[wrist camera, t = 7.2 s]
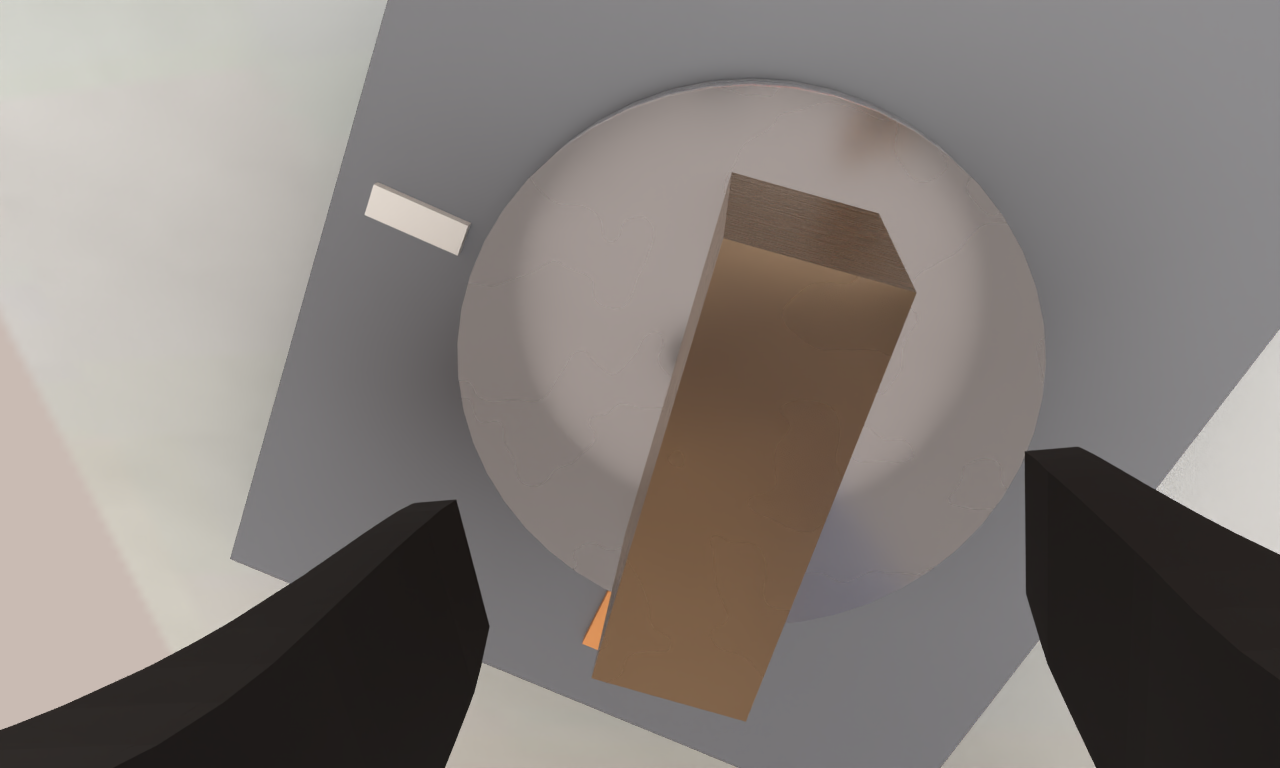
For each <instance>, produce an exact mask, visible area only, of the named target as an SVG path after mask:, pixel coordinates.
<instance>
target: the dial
mask: <svg viewBox="0 0 1280 768" xmlns="http://www.w3.org/2000/svg"><path fill="white" fill-rule="evenodd" d="M457 348H458V379H459V386H460V392H461V398H462V404H463V410H464V414H465V417H466V420H467V424H468V427H469V430H470V434H471V437H472V440H473V443H474V445H475V448H476V450H477V452H478V454H479V457H480V459H481V461H482V463H483V465H484V468H485V470H486V472H487V474H488V476H489V477H490V479H491V480H492V482H493V484H494V485H495V487H496V489H497V490H498V492H499V493H500V495H501V497H502V498H503V500H504V502H505V503H506V504H507V505H508V507H509V508H510V509H511V510H512V512H513V513H514V514H515V515H516V517H517V518H518V519H519V520H520V522H521V523H522V524H523V525H524V527H525V528H526V529H527V530H528V531H529V532H530V533H531V534H532V535H533V536H534V537H535V538H537V539H538V540H539V541H540V542H541V543H542V544H543V545H544V546H545V547H546V548H547V549H548V550H549V551H550V552H551V553H553V554H554V555H555V556H556V557H558V558H559V559H560V560H562V561H563V562H564V563H565V564H567V565H568V566H569V567H571V568H572V569H573V570H574V571H576V572H577V573H579V574H581V575H582V576H584V577H586V578H587V579H589V580H591V581H592V582H594V583H596V584H597V585H599V586H600V587H602V588H604V589H606V590H608V591H610V592H611V596H610V600H609V605H608V609H607V613H606V617H605V622H604V626H603V630H602V634H601V639H600V643H599V647H598V652H597V656H596V660H595V664H594V669H593V673H592V677H591V678H592V679H596V680H599V681H603V682H606V683H610V684H614V685H617V686H621V687H624V688H628V689H631V690H635V691H638V692H642V693H646V694H649V695H653V696H656V697H660V698H663V699H667V700H670V701H674V702H678V703H681V704H685V705H688V706H692V707H695V708H699V709H702V710H706V711H710V712H713V713H717V714H720V715H724V716H727V717H731V718H734V719H738V720H742V721H745V722H746V720H747V718H748V715H749V713H750V710H751V708H752V705H753V703H754V700H755V698H756V695H757V693H758V690H759V687H760V685H761V682H762V680H763V677H764V675H765V672H766V670H767V667H768V665H769V662H770V660H771V657H772V655H773V652H774V650H775V647H776V645H777V642H778V640H779V637H780V635H781V632H782V630H783V627H784V625H785V623H794V622H802V621H807V620H812V619H817V618H821V617H826V616H831V615H835V614H839V613H842V612H845V611H848V610H851V609H854V608H857V607H860V606H863V605H866V604H869V603H871V602H873V601H875V600H877V599H880V598H882V597H884V596H886V595H888V594H890V593H893V592H895V591H897V590H899V589H901V588H903V587H904V586H906V585H908V584H909V583H911V582H912V581H914V580H916V579H917V578H919V577H921V576H922V575H924V574H926V573H927V572H929V571H930V570H932V569H933V568H934V567H935V566H937V565H938V564H939V563H940V562H942V561H943V560H944V559H946V558H947V557H948V556H949V555H951V554H952V553H953V552H954V551H956V550H957V549H958V548H959V547H960V546H961V545H962V544H963V543H964V542H965V541H966V540H967V539H968V538H969V537H970V536H971V535H972V534H973V533H974V532H975V531H976V530H977V529H978V528H979V527H980V526H981V525H982V523H983V522H984V521H985V520H986V518H987V517H988V516H989V514H990V513H991V512H992V510H993V509H994V508H995V507H996V505H997V504H998V503H999V501H1000V500H1001V499H1002V497H1003V496H1004V494H1005V492H1006V491H1007V489H1008V487H1009V485H1010V484H1011V482H1012V480H1013V478H1014V477H1015V475H1016V473H1017V471H1018V470H1019V468H1020V466H1021V464H1022V461H1023V459H1024V456H1025V451H1027V449H1028V446H1029V444H1030V441H1031V439H1032V436H1033V434H1034V430H1035V426H1036V422H1037V418H1038V414H1039V410H1040V406H1041V402H1042V397H1043V387H1044V376H1045V366H1046V354H1045V335H1044V323H1043V318H1042V313H1041V308H1040V303H1039V298H1038V294H1037V289H1036V286H1035V283H1034V280H1033V277H1032V275H1031V272H1030V269H1029V267H1028V264H1027V261H1026V259H1025V256H1024V253H1023V251H1022V249H1021V247H1020V245H1019V244H1018V242H1017V240H1016V238H1015V236H1014V235H1013V233H1012V231H1011V229H1010V227H1009V226H1008V224H1007V222H1006V220H1005V218H1004V217H1003V215H1002V214H1001V213H1000V211H999V210H998V209H997V208H996V206H995V205H994V204H993V202H992V201H991V200H990V198H989V197H988V196H987V194H986V193H985V192H984V191H983V189H982V188H981V187H980V185H979V184H978V183H977V182H976V181H975V180H974V179H973V178H972V177H971V176H970V175H969V174H968V173H967V172H966V171H965V170H964V169H963V168H962V167H961V166H960V165H959V164H958V163H957V162H955V161H954V160H953V159H952V158H951V157H950V156H949V155H948V154H947V153H946V152H945V151H944V150H943V149H942V148H941V147H940V146H939V145H938V144H936V143H935V142H934V141H932V140H931V139H929V138H928V137H927V136H925V135H924V134H923V133H921V132H920V131H918V130H917V129H916V128H914V127H913V126H911V125H910V124H909V123H907V122H906V121H904V120H902V119H900V118H898V117H896V116H894V115H892V114H890V113H889V112H887V111H885V110H883V109H881V108H879V107H877V106H875V105H873V104H871V103H869V102H866V101H863V100H861V99H858V98H855V97H852V96H849V95H847V94H844V93H841V92H838V91H835V90H833V89H828V88H823V87H818V86H814V85H809V84H804V83H799V82H794V81H784V80H769V79H755V78H748V79H733V80H718V81H708V82H703V83H699V84H694V85H689V86H684V87H679V88H674V89H670V90H667V91H664V92H662V93H659V94H656V95H653V96H650V97H647V98H645V99H642V100H639V101H636V102H633V103H631V104H629V105H628V106H626V107H624V108H622V109H620V110H618V111H616V112H614V113H612V114H610V115H608V116H606V117H604V118H602V119H600V120H598V121H597V122H596V123H594V124H593V125H591V126H590V127H589V128H587V129H586V130H584V131H583V132H581V133H580V134H579V135H577V136H576V137H574V138H573V139H571V140H570V141H569V142H567V143H566V144H565V145H564V146H563V147H562V148H561V149H560V150H559V151H558V152H557V153H555V154H554V155H553V156H552V157H551V158H550V159H549V160H548V161H547V162H546V163H545V164H544V165H543V166H541V167H540V168H539V169H538V170H537V171H536V172H535V173H534V174H533V175H532V176H531V177H530V178H529V179H528V180H527V181H526V182H525V183H524V185H523V186H522V187H521V188H520V189H519V191H518V192H517V193H516V194H515V196H514V197H513V198H512V199H511V201H510V202H509V203H508V204H507V206H506V207H505V208H504V209H503V211H502V213H501V214H500V216H499V218H498V219H497V221H496V223H495V224H494V226H493V228H492V229H491V231H490V233H489V234H488V236H487V238H486V239H485V241H484V243H483V246H482V248H481V250H480V253H479V255H478V258H477V260H476V262H475V265H474V267H473V270H472V272H471V274H470V278H469V282H468V286H467V289H466V293H465V297H464V301H463V305H462V308H461V317H460V325H459V334H458V343H457Z"/></svg>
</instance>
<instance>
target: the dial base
mask: <svg viewBox="0 0 1280 768" xmlns="http://www.w3.org/2000/svg"><path fill="white" fill-rule="evenodd" d="M748 78H755V79H769V80H784V81H794V82H799V83H804V84H809V85H814V86H818V87H823V88H828V89H833V90H835V91H838V92H841V93H844V94H847V95H849V96H852V97H855V98H858V99H861V100H863V101H866V102H869V103H871V104H873V105H875V106H877V107H879V108H881V109H883V110H885V111H887V112H889V113H890V114H892V115H894V116H896V117H898V118H900V119H902V120H904V121H906V122H907V123H909V124H910V125H911V126H913V127H914V128H916V129H917V130H918V131H920V132H921V133H923V134H924V135H925V136H927V137H928V138H929V139H931V140H932V141H934V142H935V143H936V144H938V145H939V146H940V147H941V148H942V149H943V150H944V151H945V152H946V153H947V154H948V155H949V156H950V157H951V158H952V159H953V160H954V161H955V162H957V163H958V164H959V165H960V166H961V167H962V168H963V169H964V170H965V171H966V172H967V173H968V174H969V175H970V176H971V177H972V178H973V179H974V180H975V181H976V182H977V183H978V184H979V185H980V187H981V188H982V189H983V191H984V192H985V193H986V194H987V196H988V197H989V198H990V200H991V201H992V202H993V204H994V205H995V206H996V208H997V209H998V210H999V211H1000V213H1001V214H1002V215H1003V217H1004V218H1005V220H1006V222H1007V224H1008V226H1009V227H1010V229H1011V231H1012V233H1013V235H1014V236H1015V238H1016V240H1017V242H1018V244H1019V245H1020V247H1021V249H1022V251H1023V253H1024V256H1025V259H1026V261H1027V264H1028V267H1029V269H1030V272H1031V275H1032V277H1033V280H1034V283H1035V286H1036V289H1037V294H1038V298H1039V303H1040V308H1041V313H1042V318H1043V323H1044V335H1045V354H1046V366H1045V376H1044V387H1043V397H1042V402H1041V406H1040V410H1039V414H1038V418H1037V422H1036V426H1035V430H1034V434H1033V436H1032V439H1031V441H1030V444H1029V446H1028V449H1027V451H1032V450H1043V449H1055V448H1067V447H1080V448H1083V449H1085V450H1087V451H1089V452H1091V453H1093V454H1094V455H1096V456H1098V457H1100V458H1102V459H1103V460H1105V461H1107V462H1109V463H1110V464H1112V465H1114V466H1116V467H1117V468H1119V469H1121V470H1123V471H1124V472H1126V473H1128V474H1129V475H1131V476H1133V477H1134V478H1136V479H1138V480H1140V481H1141V482H1143V483H1145V484H1146V485H1148V486H1150V487H1152V488H1153V489H1155V490H1156V488H1157V487H1158V486H1159V484H1160V483H1161V482H1162V480H1163V479H1164V478H1165V477H1166V475H1167V474H1168V473H1169V471H1170V470H1171V469H1172V468H1173V466H1174V465H1175V464H1176V462H1177V461H1178V460H1179V458H1180V457H1181V456H1182V455H1183V453H1184V452H1185V451H1186V449H1187V448H1188V447H1189V446H1190V444H1191V443H1192V442H1193V440H1194V439H1195V438H1196V436H1197V435H1198V434H1199V433H1200V431H1201V430H1202V429H1203V427H1204V426H1205V425H1206V424H1207V422H1208V421H1209V420H1210V418H1211V417H1212V416H1213V415H1214V413H1215V412H1216V411H1217V409H1218V408H1219V407H1220V405H1221V404H1222V403H1223V402H1224V400H1225V399H1226V398H1227V396H1228V395H1229V394H1230V393H1231V391H1232V390H1233V389H1234V387H1235V386H1236V385H1237V383H1238V382H1239V381H1240V380H1241V378H1242V377H1243V376H1244V374H1245V373H1246V372H1247V371H1248V369H1249V368H1250V367H1251V365H1252V364H1253V363H1254V361H1255V360H1256V359H1257V358H1258V356H1259V355H1260V354H1261V352H1262V351H1263V350H1264V349H1265V347H1266V346H1267V345H1268V343H1269V342H1270V341H1271V340H1272V338H1273V337H1274V336H1275V334H1276V333H1277V332H1278V330H1279V329H1280V0H388V1H387V5H386V9H385V12H384V16H383V19H382V23H381V26H380V30H379V33H378V37H377V40H376V44H375V48H374V51H373V55H372V58H371V62H370V65H369V69H368V72H367V76H366V79H365V83H364V86H363V90H362V94H361V97H360V101H359V104H358V108H357V111H356V115H355V118H354V122H353V125H352V129H351V133H350V136H349V140H348V143H347V147H346V150H345V154H344V157H343V161H342V164H341V168H340V171H339V175H338V179H337V182H336V186H335V189H334V193H333V196H332V200H331V203H330V207H329V210H328V214H327V217H326V221H325V225H324V228H323V232H322V235H321V239H320V242H319V246H318V249H317V253H316V256H315V260H314V264H313V267H312V271H311V274H310V278H309V281H308V285H307V288H306V292H305V295H304V299H303V302H302V306H301V310H300V313H299V317H298V320H297V324H296V327H295V331H294V334H293V338H292V341H291V345H290V349H289V352H288V356H287V359H286V363H285V366H284V370H283V373H282V377H281V380H280V384H279V387H278V391H277V395H276V398H275V402H274V405H273V409H272V412H271V416H270V419H269V423H268V426H267V430H266V434H265V437H264V441H263V444H262V448H261V451H260V455H259V458H258V462H257V465H256V469H255V472H254V476H253V480H252V483H251V487H250V490H249V494H248V497H247V501H246V504H245V508H244V511H243V515H242V519H241V522H240V526H239V529H238V533H237V536H236V540H235V543H234V547H233V550H232V554H231V557H230V559H232V560H234V561H236V562H239V563H241V564H244V565H246V566H249V567H251V568H254V569H256V570H258V571H261V572H263V573H266V574H268V575H271V576H273V577H275V578H278V579H280V580H283V581H285V582H288V583H290V584H291V583H292V582H294V581H295V580H297V579H298V578H300V577H301V576H303V575H304V574H306V573H307V572H309V571H310V570H311V569H313V568H314V567H316V566H317V565H319V564H320V563H322V562H323V561H324V560H326V559H327V558H329V557H330V556H332V555H333V554H335V553H336V552H338V551H339V550H340V549H342V548H343V547H345V546H346V545H348V544H349V543H351V542H352V541H353V540H355V539H356V538H358V537H359V536H361V535H362V534H364V533H365V532H367V531H368V530H369V529H371V528H372V527H374V526H375V525H377V524H378V523H380V522H381V521H383V520H384V519H386V518H388V517H389V516H391V515H392V514H394V513H396V512H397V511H399V510H401V509H403V508H405V507H407V506H409V505H410V504H412V503H419V502H431V501H443V500H455V499H456V500H457V504H458V507H459V511H460V515H461V519H462V523H463V527H464V530H465V534H466V538H467V542H468V546H469V549H470V553H471V557H472V561H473V565H474V568H475V572H476V576H477V580H478V584H479V588H480V591H481V595H482V599H483V603H484V607H485V610H486V614H487V618H488V622H489V626H490V628H489V632H488V637H487V641H486V646H485V650H484V655H483V660H482V663H485V664H487V665H490V666H492V667H495V668H497V669H499V670H502V671H504V672H507V673H509V674H512V675H514V676H517V677H519V678H521V679H524V680H526V681H529V682H531V683H534V684H536V685H538V686H541V687H543V688H546V689H548V690H551V691H553V692H555V693H558V694H560V695H563V696H565V697H568V698H570V699H573V700H575V701H577V702H580V703H582V704H585V705H587V706H590V707H592V708H594V709H597V710H599V711H602V712H604V713H607V714H609V715H611V716H614V717H616V718H619V719H621V720H624V721H626V722H629V723H631V724H633V725H636V726H638V727H641V728H643V729H646V730H648V731H650V732H653V733H655V734H658V735H660V736H663V737H665V738H667V739H670V740H672V741H675V742H677V743H680V744H682V745H685V746H687V747H689V748H692V749H694V750H697V751H699V752H702V753H704V754H706V755H709V756H711V757H714V758H716V759H719V760H721V761H723V762H726V763H728V764H731V765H733V766H736V767H738V768H941V766H942V765H943V764H944V762H945V761H946V760H947V758H948V757H949V756H950V755H951V753H952V752H953V751H954V749H955V748H956V747H957V746H958V744H959V743H960V742H961V740H962V739H963V738H964V736H965V735H966V734H967V733H968V731H969V730H970V729H971V727H972V726H973V725H974V724H975V722H976V721H977V720H978V718H979V717H980V716H981V715H982V713H983V712H984V711H985V709H986V708H987V707H988V705H989V704H990V703H991V702H992V700H993V699H994V698H995V696H996V695H997V694H998V693H999V691H1000V690H1001V689H1002V687H1003V686H1004V685H1005V683H1006V682H1007V681H1008V680H1009V678H1010V677H1011V676H1012V674H1013V673H1014V672H1015V671H1016V669H1017V668H1018V667H1019V665H1020V664H1021V663H1022V661H1023V660H1024V659H1025V658H1026V656H1027V655H1028V654H1029V652H1030V651H1031V650H1032V649H1033V647H1034V646H1035V645H1036V643H1037V642H1038V641H1039V640H1040V639H1039V636H1038V633H1037V629H1036V626H1035V623H1034V619H1033V616H1032V612H1031V609H1030V606H1029V602H1028V599H1027V596H1026V556H1025V456H1024V459H1023V461H1022V464H1021V466H1020V468H1019V470H1018V471H1017V473H1016V475H1015V477H1014V478H1013V480H1012V482H1011V484H1010V485H1009V487H1008V489H1007V491H1006V492H1005V494H1004V496H1003V497H1002V499H1001V500H1000V501H999V503H998V504H997V505H996V507H995V508H994V509H993V510H992V512H991V513H990V514H989V516H988V517H987V518H986V520H985V521H984V522H983V523H982V525H981V526H980V527H979V528H978V529H977V530H976V531H975V532H974V533H973V534H972V535H971V536H970V537H969V538H968V539H967V540H966V541H965V542H964V543H963V544H962V545H961V546H960V547H959V548H958V549H957V550H956V551H954V552H953V553H952V554H951V555H949V556H948V557H947V558H946V559H944V560H943V561H942V562H940V563H939V564H938V565H937V566H935V567H934V568H933V569H932V570H930V571H929V572H927V573H926V574H924V575H922V576H921V577H919V578H917V579H916V580H914V581H912V582H911V583H909V584H908V585H906V586H904V587H903V588H901V589H899V590H897V591H895V592H893V593H890V594H888V595H886V596H884V597H882V598H880V599H877V600H875V601H873V602H871V603H869V604H866V605H863V606H860V607H857V608H854V609H851V610H848V611H845V612H842V613H839V614H835V615H831V616H826V617H821V618H817V619H812V620H807V621H802V622H794V623H785V625H784V627H783V630H782V632H781V635H780V637H779V640H778V642H777V645H776V647H775V650H774V652H773V655H772V657H771V660H770V662H769V665H768V667H767V670H766V672H765V675H764V677H763V680H762V682H761V685H760V687H759V690H758V693H757V695H756V698H755V700H754V703H753V705H752V708H751V710H750V713H749V715H748V718H747V720H746V722H745V721H742V720H738V719H734V718H731V717H727V716H724V715H720V714H717V713H713V712H710V711H706V710H702V709H699V708H695V707H692V706H688V705H685V704H681V703H678V702H674V701H670V700H667V699H663V698H660V697H656V696H653V695H649V694H646V693H642V692H638V691H635V690H631V689H628V688H624V687H621V686H617V685H614V684H610V683H606V682H603V681H599V680H596V679H592V678H591V677H592V673H593V669H594V664H595V660H596V656H597V652H598V647H599V643H600V639H601V634H602V630H603V626H604V622H605V617H606V613H607V609H608V605H609V600H610V596H611V592H610V591H608V590H606V589H604V588H602V587H600V586H599V585H597V584H596V583H594V582H592V581H591V580H589V579H587V578H586V577H584V576H582V575H581V574H579V573H577V572H576V571H574V570H573V569H572V568H571V567H569V566H568V565H567V564H565V563H564V562H563V561H562V560H560V559H559V558H558V557H556V556H555V555H554V554H553V553H551V552H550V551H549V550H548V549H547V548H546V547H545V546H544V545H543V544H542V543H541V542H540V541H539V540H538V539H537V538H535V537H534V536H533V535H532V534H531V533H530V532H529V531H528V530H527V529H526V528H525V527H524V525H523V524H522V523H521V522H520V520H519V519H518V518H517V517H516V515H515V514H514V513H513V512H512V510H511V509H510V508H509V507H508V505H507V504H506V503H505V502H504V500H503V498H502V497H501V495H500V493H499V492H498V490H497V489H496V487H495V485H494V484H493V482H492V480H491V479H490V477H489V476H488V474H487V472H486V470H485V468H484V465H483V463H482V461H481V459H480V457H479V454H478V452H477V450H476V448H475V445H474V443H473V440H472V437H471V434H470V430H469V427H468V424H467V420H466V417H465V414H464V410H463V404H462V398H461V392H460V386H459V379H458V348H457V343H458V334H459V325H460V317H461V308H462V305H463V301H464V297H465V293H466V289H467V286H468V282H469V278H470V274H471V272H472V270H473V267H474V265H475V262H476V260H477V258H478V255H479V253H480V250H481V248H482V246H483V243H484V241H485V239H486V238H487V236H488V234H489V233H490V231H491V229H492V228H493V226H494V224H495V223H496V221H497V219H498V218H499V216H500V214H501V213H502V211H503V209H504V208H505V207H506V206H507V204H508V203H509V202H510V201H511V199H512V198H513V197H514V196H515V194H516V193H517V192H518V191H519V189H520V188H521V187H522V186H523V185H524V183H525V182H526V181H527V180H528V179H529V178H530V177H531V176H532V175H533V174H534V173H535V172H536V171H537V170H538V169H539V168H540V167H541V166H543V165H544V164H545V163H546V162H547V161H548V160H549V159H550V158H551V157H552V156H553V155H554V154H555V153H557V152H558V151H559V150H560V149H561V148H562V147H563V146H564V145H565V144H566V143H567V142H569V141H570V140H571V139H573V138H574V137H576V136H577V135H579V134H580V133H581V132H583V131H584V130H586V129H587V128H589V127H590V126H591V125H593V124H594V123H596V122H597V121H598V120H600V119H602V118H604V117H606V116H608V115H610V114H612V113H614V112H616V111H618V110H620V109H622V108H624V107H626V106H628V105H629V104H631V103H633V102H636V101H639V100H642V99H645V98H647V97H650V96H653V95H656V94H659V93H662V92H664V91H667V90H670V89H674V88H679V87H684V86H689V85H694V84H699V83H703V82H708V81H718V80H733V79H748Z"/></svg>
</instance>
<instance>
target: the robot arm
mask: <svg viewBox="0 0 1280 768" xmlns="http://www.w3.org/2000/svg"><path fill="white" fill-rule="evenodd" d="M1025 556H1026V596H1027V599H1028V602H1029V606H1030V609H1031V612H1032V616H1033V619H1034V623H1035V626H1036V629H1037V633H1038V636H1039V639H1040V642H1041V645H1042V648H1043V651H1044V654H1045V657H1046V660H1047V664H1048V666H1049V668H1050V670H1051V672H1052V675H1053V677H1054V679H1055V681H1056V683H1057V686H1058V688H1059V690H1060V692H1061V694H1062V696H1063V699H1064V701H1065V703H1066V705H1067V707H1068V709H1069V711H1070V714H1071V716H1072V718H1073V720H1074V722H1075V724H1076V726H1077V728H1078V731H1079V733H1080V735H1081V737H1082V739H1083V741H1084V743H1085V745H1086V747H1087V750H1088V752H1089V754H1090V756H1091V758H1092V760H1093V762H1094V764H1095V766H1096V768H1280V555H1279V554H1277V553H1275V552H1273V551H1271V550H1269V549H1267V548H1265V547H1263V546H1261V545H1259V544H1257V543H1255V542H1253V541H1250V540H1248V539H1246V538H1244V537H1242V536H1240V535H1238V534H1236V533H1234V532H1232V531H1230V530H1228V529H1226V528H1224V527H1222V526H1220V525H1219V524H1217V523H1215V522H1213V521H1211V520H1209V519H1207V518H1205V517H1203V516H1202V515H1200V514H1198V513H1196V512H1194V511H1192V510H1190V509H1189V508H1187V507H1185V506H1183V505H1182V504H1180V503H1178V502H1176V501H1174V500H1173V499H1171V498H1169V497H1167V496H1166V495H1164V494H1162V493H1160V492H1159V491H1157V490H1155V489H1153V488H1152V487H1150V486H1148V485H1146V484H1145V483H1143V482H1141V481H1140V480H1138V479H1136V478H1134V477H1133V476H1131V475H1129V474H1128V473H1126V472H1124V471H1123V470H1121V469H1119V468H1117V467H1116V466H1114V465H1112V464H1110V463H1109V462H1107V461H1105V460H1103V459H1102V458H1100V457H1098V456H1096V455H1094V454H1093V453H1091V452H1089V451H1087V450H1085V449H1083V448H1080V447H1067V448H1055V449H1043V450H1032V451H1025ZM489 628H490V626H489V622H488V618H487V614H486V610H485V607H484V603H483V599H482V595H481V591H480V588H479V584H478V580H477V576H476V572H475V568H474V565H473V561H472V557H471V553H470V549H469V546H468V542H467V538H466V534H465V530H464V527H463V523H462V519H461V515H460V511H459V507H458V504H457V500H456V499H455V500H443V501H431V502H419V503H412V504H410V505H409V506H407V507H405V508H403V509H401V510H399V511H397V512H396V513H394V514H392V515H391V516H389V517H388V518H386V519H384V520H383V521H381V522H380V523H378V524H377V525H375V526H374V527H372V528H371V529H369V530H368V531H367V532H365V533H364V534H362V535H361V536H359V537H358V538H356V539H355V540H353V541H352V542H351V543H349V544H348V545H346V546H345V547H343V548H342V549H340V550H339V551H338V552H336V553H335V554H333V555H332V556H330V557H329V558H327V559H326V560H324V561H323V562H322V563H320V564H319V565H317V566H316V567H314V568H313V569H311V570H310V571H309V572H307V573H306V574H304V575H303V576H301V577H300V578H298V579H297V580H295V581H294V582H292V583H291V584H289V585H287V586H286V587H284V588H283V589H281V590H280V591H278V592H277V593H275V594H273V595H272V596H270V597H269V598H267V599H266V600H264V601H262V602H261V603H259V604H258V605H256V606H255V607H253V608H252V609H250V610H248V611H247V612H245V613H244V614H242V615H241V616H239V617H238V618H236V619H234V620H233V621H231V622H229V623H228V624H226V625H224V626H223V627H221V628H219V629H217V630H216V631H214V632H212V633H210V634H209V635H207V636H205V637H203V638H202V639H200V640H198V641H196V642H194V643H192V644H191V645H189V646H187V647H185V648H183V649H181V650H179V651H177V652H176V653H174V654H172V655H170V656H168V657H166V658H164V659H162V660H160V661H159V662H157V663H155V664H153V665H151V666H149V667H147V668H145V669H143V670H140V671H138V672H136V673H134V674H132V675H130V676H127V677H125V678H123V679H121V680H119V681H116V682H114V683H112V684H110V685H107V686H105V687H103V688H101V689H99V690H97V691H94V692H92V693H90V694H88V695H86V696H83V697H81V698H79V699H77V700H74V701H72V702H70V703H68V704H66V705H63V706H61V707H58V708H56V709H54V710H51V711H48V712H46V713H43V714H41V715H39V716H36V717H34V718H31V719H28V720H26V721H23V722H21V723H18V724H16V725H13V726H10V727H8V728H5V729H2V730H0V768H445V766H446V764H447V761H448V759H449V756H450V754H451V751H452V749H453V746H454V744H455V741H456V739H457V736H458V733H459V731H460V728H461V726H462V723H463V721H464V718H465V716H466V713H467V710H468V708H469V705H470V702H471V700H472V697H473V694H474V691H475V688H476V684H477V680H478V676H479V672H480V668H481V664H482V660H483V655H484V650H485V646H486V641H487V637H488V632H489Z"/></svg>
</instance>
